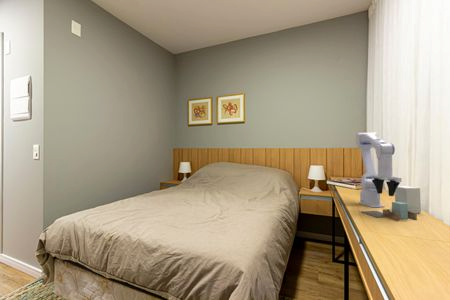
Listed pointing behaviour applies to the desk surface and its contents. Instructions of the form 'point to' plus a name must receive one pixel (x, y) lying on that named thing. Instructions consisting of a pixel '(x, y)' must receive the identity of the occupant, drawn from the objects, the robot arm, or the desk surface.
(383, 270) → the desk surface
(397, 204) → the block
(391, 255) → the desk surface
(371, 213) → the mat
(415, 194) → the supplement box
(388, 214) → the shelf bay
